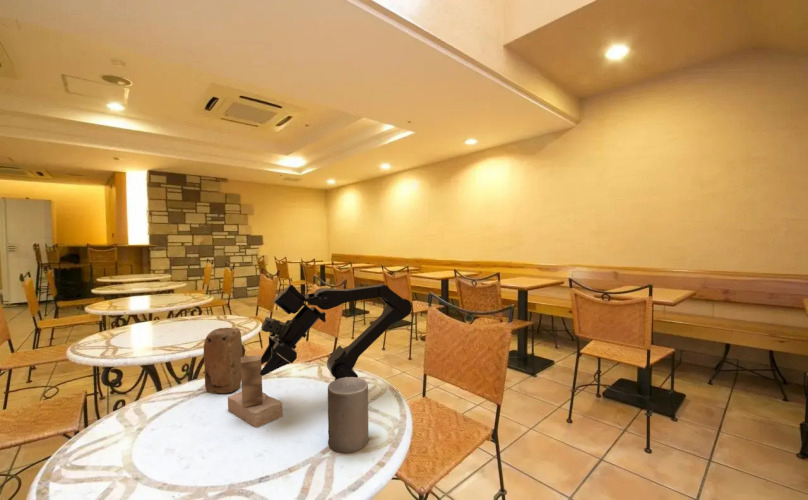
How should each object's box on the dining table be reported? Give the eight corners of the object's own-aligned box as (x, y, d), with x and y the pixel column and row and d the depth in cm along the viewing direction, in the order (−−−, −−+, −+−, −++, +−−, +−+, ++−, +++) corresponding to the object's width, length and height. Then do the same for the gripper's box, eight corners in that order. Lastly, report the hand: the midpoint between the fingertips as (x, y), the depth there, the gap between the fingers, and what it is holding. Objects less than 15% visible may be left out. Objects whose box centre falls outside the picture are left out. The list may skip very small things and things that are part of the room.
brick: (284, 416, 94) (284, 399, 94) (255, 430, 87) (255, 412, 87) (254, 400, 104) (254, 385, 104) (226, 411, 97) (226, 395, 97)
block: (245, 385, 114) (244, 326, 114) (232, 395, 107) (230, 332, 107) (215, 384, 115) (213, 326, 115) (200, 394, 108) (198, 332, 108)
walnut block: (261, 396, 96) (260, 354, 96) (262, 403, 92) (261, 359, 92) (242, 400, 94) (240, 357, 94) (242, 407, 90) (240, 363, 90)
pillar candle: (319, 444, 79) (318, 382, 79) (348, 425, 87) (347, 368, 87) (349, 459, 74) (348, 392, 74) (377, 437, 82) (376, 376, 82)
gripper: (276, 301, 103) (237, 343, 98) (282, 312, 86) (235, 362, 81) (303, 324, 106) (267, 364, 102) (314, 338, 89) (271, 388, 85)
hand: (260, 369), depth 92 cm, fingers open, 9 cm apart
